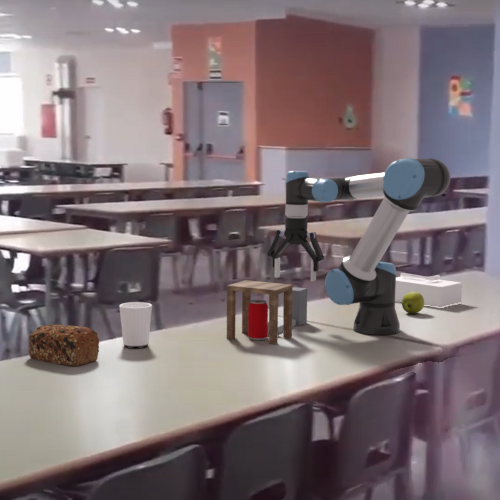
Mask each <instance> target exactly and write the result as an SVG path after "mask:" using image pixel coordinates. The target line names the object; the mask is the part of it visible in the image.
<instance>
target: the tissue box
mask: <svg viewBox="0 0 500 500" xmlns="http://www.w3.org/2000/svg"><path fill="white" fill-rule="evenodd" d="M462 289H463V282H459V281H451V280H444V279H441V275H440V274H437V275H432V276H424V275H419V274H413V273H407V272H401V273H400V276H398V277H397V276H396V289H395V303H400V302H402V299H403V297H404V296H405V295H406V294H407V293H409V292H418V293H420V294H421V295H422V296H423V298H424V305H430V306H438V307H442V306H446V305H450V304H454V303H458V302H461V303H462V298H463V297H462V295H463V292H462V291H463V290H462Z"/></svg>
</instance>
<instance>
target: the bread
mask: <svg viewBox="0 0 500 500" xmlns="http://www.w3.org/2000/svg"><path fill="white" fill-rule="evenodd" d="M27 341H28V342H27V343H28V353H29V357H30V359H33V360H37V361H43V362H47V363H52V364H59V365H62V366H67V367H68V366H69V367H70V366H72V367H74V366H75V367H76V366H83V365H86V364H91V363H93V362H94V363H95V361H97V360H98V357H99V352H100V350H99V349H100V346H99V345H100V339H99V336H98V331H97V332H96V331H95V330H94V329H92V328H90V327H86V326H85V327H84V326H77V325H66V324H65V325H64V324H46V325H41V326H38V327H37V328H35V330H34V331H33V332H31V333H30V334H29V336H28V340H27Z"/></svg>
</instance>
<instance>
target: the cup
mask: <svg viewBox="0 0 500 500" xmlns="http://www.w3.org/2000/svg"><path fill="white" fill-rule="evenodd" d="M118 307H119V314H120V315H119V316H120V325H121V335H122V343H123V344H122V345H123V346H124V347H127V348H129V349H134V348H135V347H137V348H138V349H143V348H144V347H148V346H149V342H150V335H151V334H150V331H151V330H150V329H151V321H152V320H151V319H152V310H153V304H151V303H150V302H143V301H131V302H124V303H121V304H119V306H118Z"/></svg>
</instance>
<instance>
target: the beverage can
mask: <svg viewBox="0 0 500 500" xmlns="http://www.w3.org/2000/svg"><path fill="white" fill-rule="evenodd" d="M268 322H269V305H268V303H267V300H264V299H251V301H250V303H249V305H248V333H247V337H248V338H249V339H250V340H253V341H263V340H266V339H267V338H269V335H268Z"/></svg>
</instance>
